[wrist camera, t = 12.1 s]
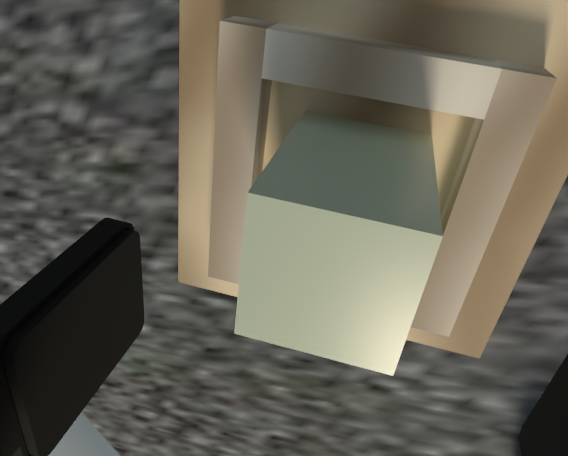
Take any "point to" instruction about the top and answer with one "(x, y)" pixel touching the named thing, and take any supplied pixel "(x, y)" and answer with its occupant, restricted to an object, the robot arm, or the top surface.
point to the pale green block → (340, 241)
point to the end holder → (388, 112)
